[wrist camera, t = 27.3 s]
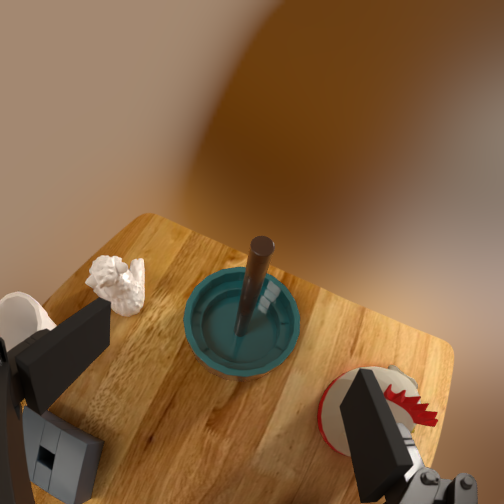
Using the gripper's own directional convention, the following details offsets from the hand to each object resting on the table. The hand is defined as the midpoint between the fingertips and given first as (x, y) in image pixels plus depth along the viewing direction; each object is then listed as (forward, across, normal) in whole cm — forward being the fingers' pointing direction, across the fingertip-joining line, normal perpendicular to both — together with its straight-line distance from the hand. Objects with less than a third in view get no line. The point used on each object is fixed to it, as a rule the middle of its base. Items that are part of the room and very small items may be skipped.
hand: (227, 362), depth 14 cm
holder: (+6, -19, -31) cm, 37 cm away
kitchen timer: (+19, +21, -18) cm, 34 cm away
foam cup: (+17, -25, -21) cm, 36 cm away
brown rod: (+25, 0, -11) cm, 27 cm away
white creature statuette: (+26, -18, -12) cm, 34 cm away
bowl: (+25, 0, -12) cm, 28 cm away
